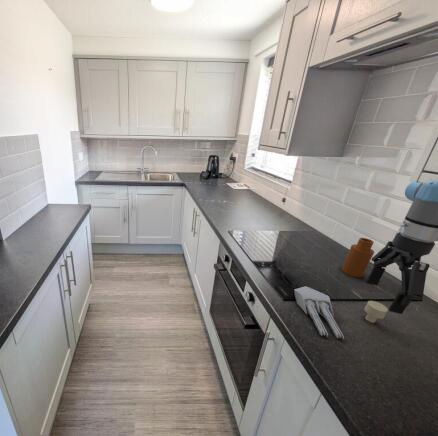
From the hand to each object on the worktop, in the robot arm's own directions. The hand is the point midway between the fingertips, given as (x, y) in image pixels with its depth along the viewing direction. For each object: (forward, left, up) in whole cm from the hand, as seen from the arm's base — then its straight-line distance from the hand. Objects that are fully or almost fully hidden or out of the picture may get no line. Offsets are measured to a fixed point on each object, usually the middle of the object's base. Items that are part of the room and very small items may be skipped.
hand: (382, 296), depth 72 cm
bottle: (-6, -31, -10) cm, 33 cm away
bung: (0, 0, -10) cm, 10 cm away
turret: (+16, +4, -10) cm, 20 cm away
